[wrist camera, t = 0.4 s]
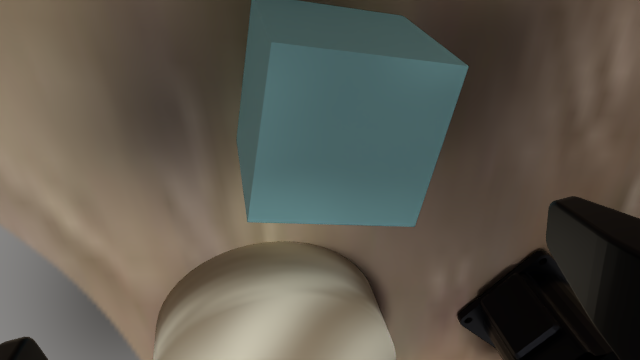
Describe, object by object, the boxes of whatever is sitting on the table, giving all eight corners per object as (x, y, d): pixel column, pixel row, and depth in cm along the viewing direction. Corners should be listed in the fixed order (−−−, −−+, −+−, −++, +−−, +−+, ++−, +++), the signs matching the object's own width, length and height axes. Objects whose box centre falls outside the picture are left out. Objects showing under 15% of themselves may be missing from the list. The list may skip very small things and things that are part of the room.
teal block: (402, 15, 20) (469, 66, 15) (368, 148, 23) (414, 226, 18) (252, -7, 19) (271, 42, 14) (236, 138, 22) (247, 222, 17)
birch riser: (414, 300, 30) (441, 356, 26) (277, 415, 33) (286, 477, 29) (257, 198, 24) (267, 253, 20) (109, 350, 27) (96, 419, 23)
